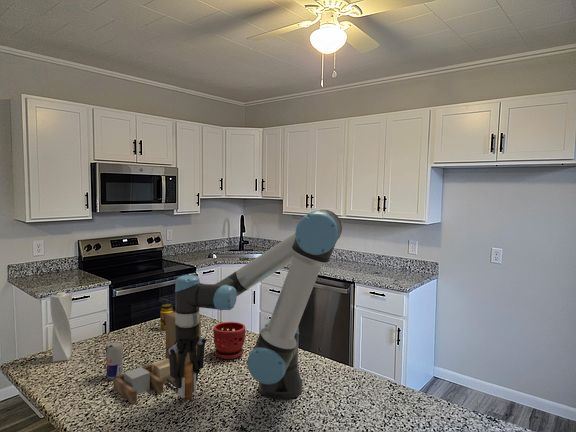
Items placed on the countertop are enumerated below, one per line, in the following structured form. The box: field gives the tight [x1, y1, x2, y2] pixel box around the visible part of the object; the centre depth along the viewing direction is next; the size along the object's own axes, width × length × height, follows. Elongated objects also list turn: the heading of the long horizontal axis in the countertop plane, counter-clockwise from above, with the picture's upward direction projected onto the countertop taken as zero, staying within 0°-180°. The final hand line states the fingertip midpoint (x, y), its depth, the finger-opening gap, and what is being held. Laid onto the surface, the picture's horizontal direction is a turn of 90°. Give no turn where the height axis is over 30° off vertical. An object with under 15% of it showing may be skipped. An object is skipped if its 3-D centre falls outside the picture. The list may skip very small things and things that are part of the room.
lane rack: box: [113, 363, 164, 406], centre depth 133 cm, size 14×20×4 cm
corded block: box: [151, 357, 194, 401], centre depth 132 cm, size 20×6×11 cm, turn 46°
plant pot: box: [212, 321, 246, 360], centre depth 159 cm, size 13×13×12 cm
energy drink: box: [105, 341, 124, 381], centre depth 138 cm, size 5×5×12 cm
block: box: [123, 366, 151, 395], centre depth 130 cm, size 6×6×6 cm
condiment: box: [156, 303, 174, 333], centre depth 186 cm, size 7×8×12 cm
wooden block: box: [165, 311, 202, 362], centre depth 150 cm, size 10×10×20 cm
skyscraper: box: [47, 287, 74, 364], centre depth 151 cm, size 8×8×28 cm
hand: (187, 393), depth 126 cm, fingers closed on corded block, 3 cm apart
